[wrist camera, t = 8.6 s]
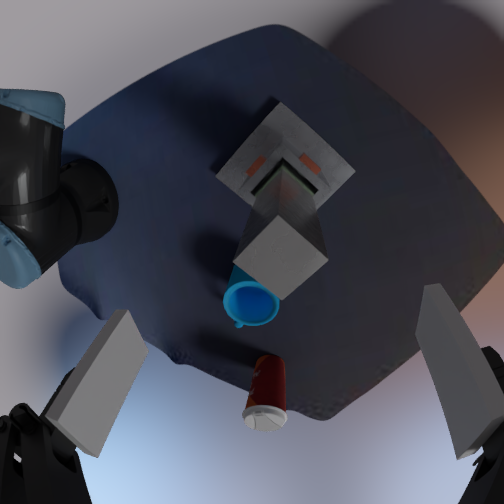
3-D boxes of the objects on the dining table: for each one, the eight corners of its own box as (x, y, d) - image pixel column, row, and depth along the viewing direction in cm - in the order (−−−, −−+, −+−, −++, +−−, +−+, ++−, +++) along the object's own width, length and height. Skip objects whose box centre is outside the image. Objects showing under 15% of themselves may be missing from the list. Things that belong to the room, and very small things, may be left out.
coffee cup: (245, 354, 58) (234, 413, 45) (284, 347, 56) (280, 409, 43) (258, 378, 62) (250, 434, 49) (294, 372, 60) (292, 431, 46)
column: (259, 183, 34) (228, 261, 18) (283, 157, 33) (277, 211, 16) (286, 207, 35) (281, 302, 18) (310, 182, 33) (332, 259, 17)
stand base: (217, 174, 42) (194, 196, 32) (280, 102, 36) (278, 98, 26) (288, 233, 45) (287, 272, 35) (353, 169, 39) (375, 190, 29)
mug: (242, 246, 47) (233, 272, 40) (289, 264, 48) (288, 293, 41) (219, 300, 53) (209, 330, 46) (261, 316, 53) (256, 347, 46)
